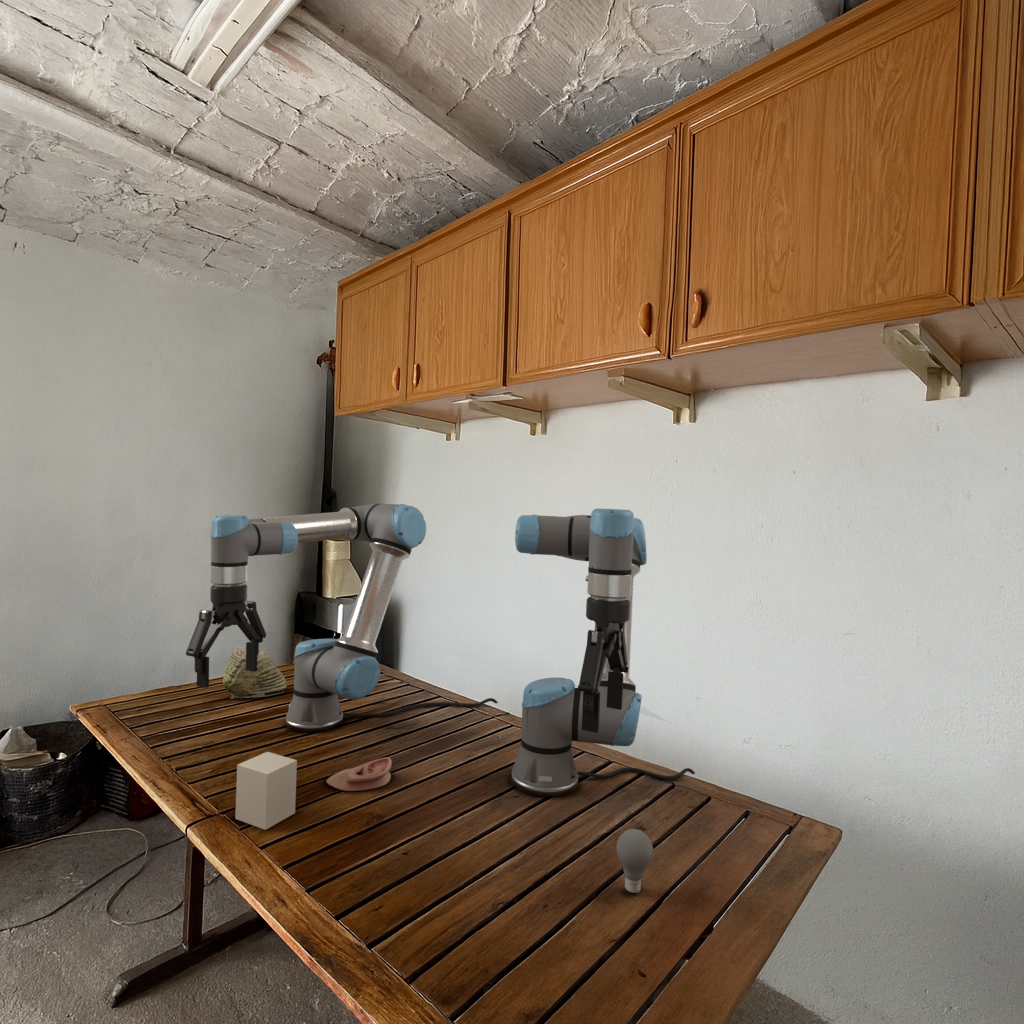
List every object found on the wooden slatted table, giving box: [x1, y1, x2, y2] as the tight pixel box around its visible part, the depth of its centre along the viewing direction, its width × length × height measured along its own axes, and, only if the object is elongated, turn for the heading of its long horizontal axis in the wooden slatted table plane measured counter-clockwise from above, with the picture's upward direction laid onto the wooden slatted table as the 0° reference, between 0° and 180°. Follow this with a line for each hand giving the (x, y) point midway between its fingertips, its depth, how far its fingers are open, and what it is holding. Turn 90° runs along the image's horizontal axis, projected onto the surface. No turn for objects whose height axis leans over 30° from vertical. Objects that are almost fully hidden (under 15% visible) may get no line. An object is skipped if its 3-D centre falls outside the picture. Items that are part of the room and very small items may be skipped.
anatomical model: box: [326, 756, 393, 792], centre depth 142 cm, size 13×4×12 cm
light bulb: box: [615, 828, 654, 894], centre depth 106 cm, size 6×6×10 cm
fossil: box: [222, 646, 288, 699], centre depth 198 cm, size 9×18×15 cm, turn 132°
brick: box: [234, 751, 298, 831], centre depth 125 cm, size 8×8×11 cm
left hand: (228, 678), depth 142 cm, fingers open, 13 cm apart
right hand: (602, 719), depth 110 cm, fingers open, 13 cm apart
